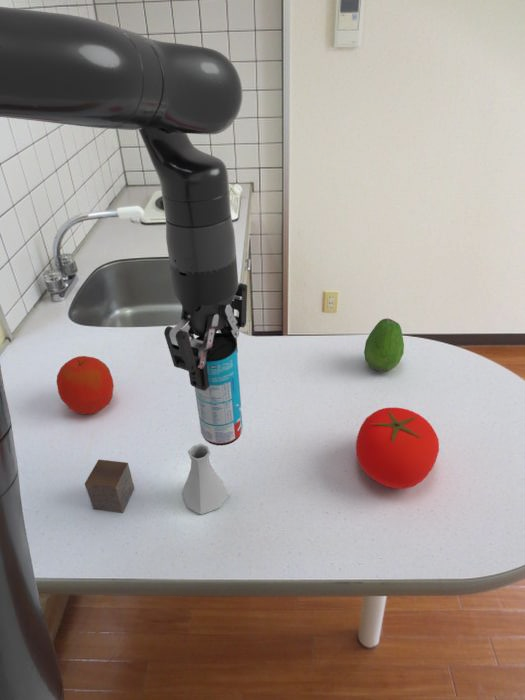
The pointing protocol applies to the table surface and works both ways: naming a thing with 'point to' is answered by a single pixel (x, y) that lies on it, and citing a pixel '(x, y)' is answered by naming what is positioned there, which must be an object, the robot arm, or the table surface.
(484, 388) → the table surface
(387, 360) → the avocado
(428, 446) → the tomato
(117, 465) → the walnut block
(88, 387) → the apple
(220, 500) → the flask
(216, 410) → the beverage can
